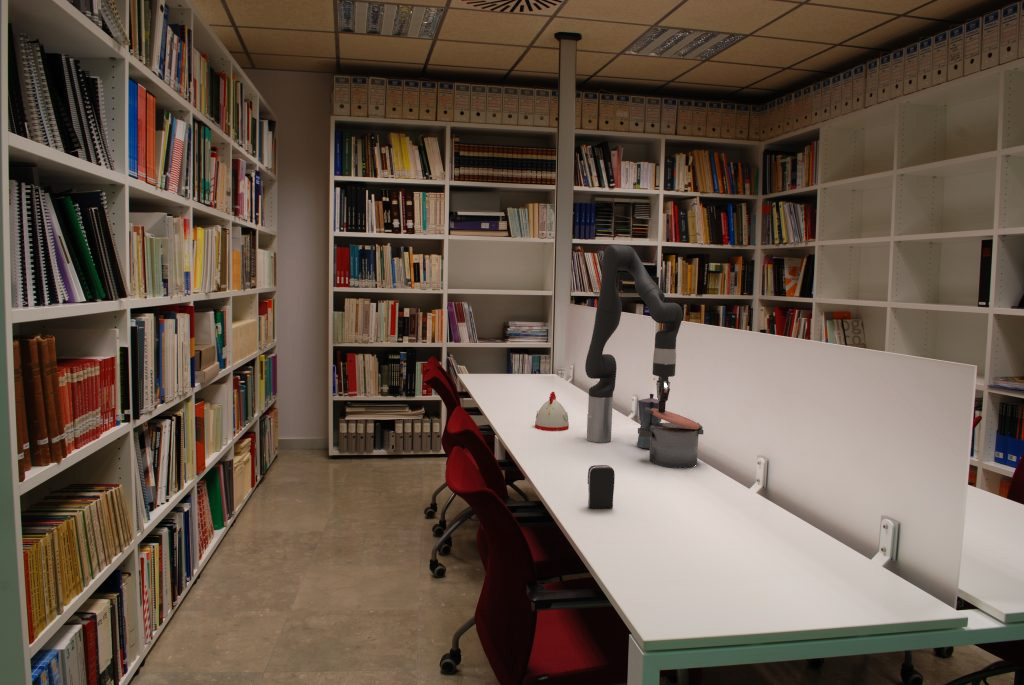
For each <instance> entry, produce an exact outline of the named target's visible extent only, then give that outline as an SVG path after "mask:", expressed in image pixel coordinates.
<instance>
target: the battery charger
mask: <svg viewBox="0 0 1024 685" xmlns="http://www.w3.org/2000/svg"><path fill="white" fill-rule="evenodd" d="M615 478H616V477H615V470H614V468H613V467H611V466H610V465H606V464H604V465H603V464H596V465H590V467H588V470H587V485H588V488H587V489H588V490H587V491H588V501H587V507H588V508H589V509H612V508H613V507H614V494H615V493H614V492H615Z"/></svg>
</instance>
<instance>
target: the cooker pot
mask: <svg viewBox="0 0 1024 685" xmlns="http://www.w3.org/2000/svg"><path fill="white" fill-rule="evenodd" d="M637 434H638V436H639V435H640V436H645V437H650V449H649V455H648V457H649V458H648V460H649V462H650V463H651V464H653V465H655V466H658V467H663V468H667V469H668V468H669V469H690V468H691V469H692V468H694V466H695V465H696V466H697V465H698V456H699V455H698V454H699V436H700V435H704V429H703V428H702V430H699V429H698V430H696V429H690V428H686V427H682V426H679V425H676V424H673V423H670V422H660V423H656V424H652V425H651V430H650V428H640V427H638V428H637ZM696 466H695V467H696Z"/></svg>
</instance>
